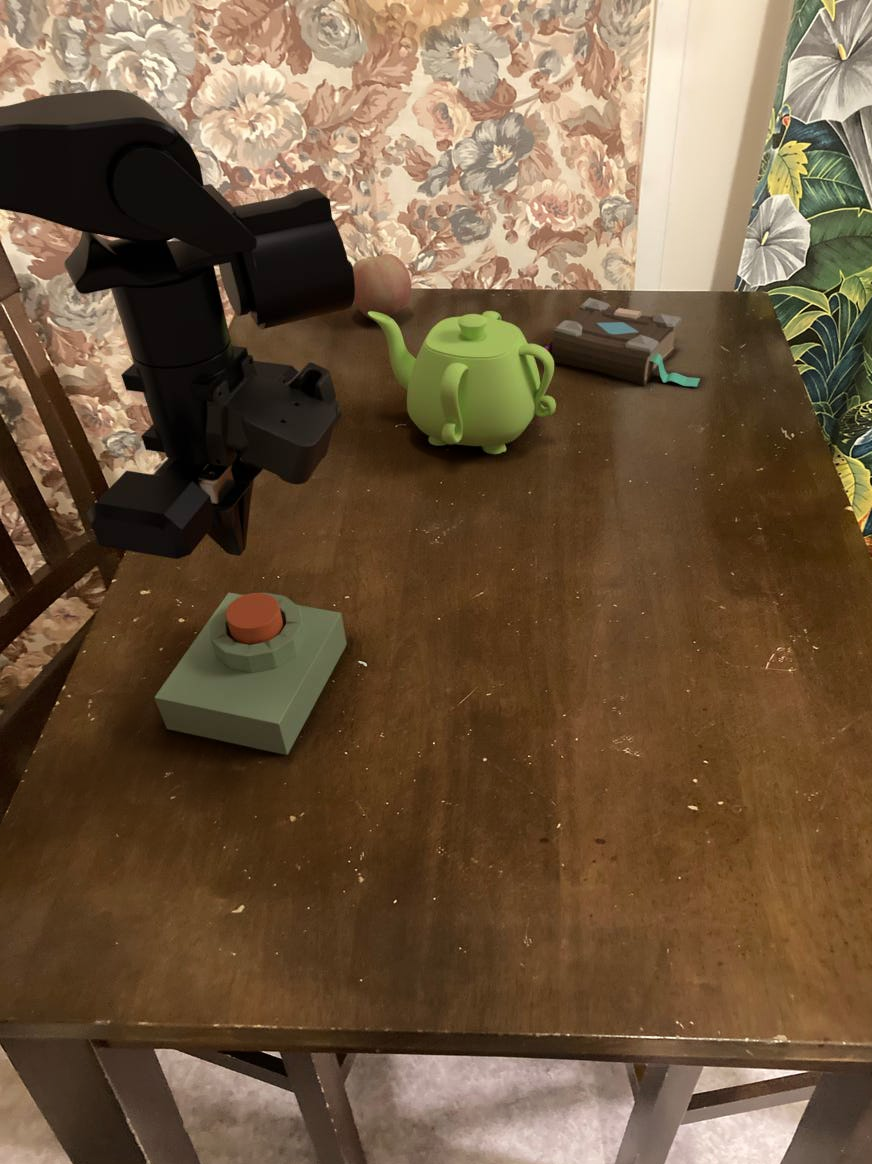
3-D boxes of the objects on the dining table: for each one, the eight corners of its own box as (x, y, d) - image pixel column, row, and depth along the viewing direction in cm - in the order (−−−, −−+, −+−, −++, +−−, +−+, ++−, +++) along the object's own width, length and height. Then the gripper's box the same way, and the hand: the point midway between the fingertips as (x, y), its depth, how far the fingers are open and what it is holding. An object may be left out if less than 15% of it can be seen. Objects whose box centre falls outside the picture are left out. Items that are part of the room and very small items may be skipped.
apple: (411, 302, 121) (406, 242, 115) (416, 328, 115) (411, 265, 110) (351, 307, 120) (344, 246, 114) (354, 333, 114) (346, 270, 109)
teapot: (420, 483, 91) (412, 369, 82) (378, 415, 100) (366, 306, 91) (564, 448, 95) (570, 335, 86) (510, 385, 104) (511, 278, 95)
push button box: (287, 756, 66) (274, 707, 62) (166, 729, 68) (146, 680, 64) (347, 645, 74) (338, 595, 70) (237, 624, 76) (223, 575, 72)
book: (723, 354, 109) (731, 314, 105) (688, 399, 101) (694, 358, 98) (575, 320, 116) (577, 282, 112) (532, 360, 109) (533, 320, 105)
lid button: (269, 649, 67) (265, 632, 66) (221, 640, 68) (216, 623, 66) (291, 613, 70) (287, 597, 68) (244, 605, 70) (240, 588, 69)
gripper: (233, 448, 44) (287, 664, 55) (365, 291, 57) (387, 493, 68) (40, 420, 47) (128, 633, 58) (208, 275, 59) (254, 473, 70)
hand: (236, 552), depth 63 cm, fingers closed
